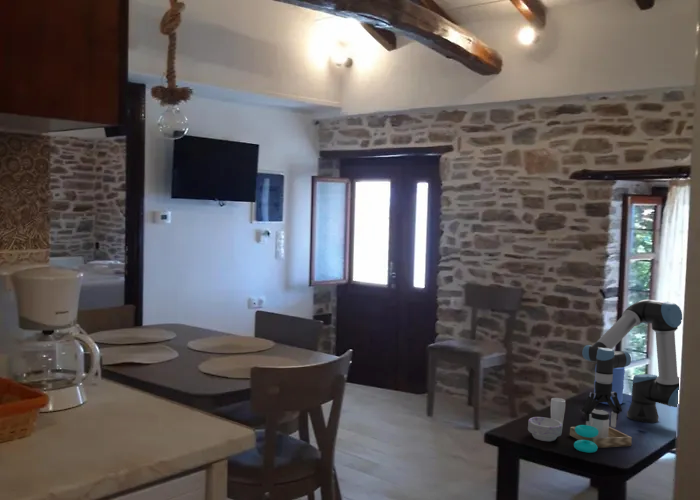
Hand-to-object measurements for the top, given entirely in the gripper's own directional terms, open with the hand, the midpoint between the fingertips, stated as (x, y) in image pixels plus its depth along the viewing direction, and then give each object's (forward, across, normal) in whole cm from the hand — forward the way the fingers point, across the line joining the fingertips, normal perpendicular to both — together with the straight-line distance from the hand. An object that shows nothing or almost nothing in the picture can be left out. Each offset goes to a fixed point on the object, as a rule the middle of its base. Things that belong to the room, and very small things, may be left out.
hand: (600, 427), depth 313 cm
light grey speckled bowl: (+6, +25, -7) cm, 27 cm away
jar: (+5, 0, -1) cm, 6 cm away
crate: (+6, 0, 0) cm, 6 cm away
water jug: (+6, -50, -60) cm, 78 cm away
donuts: (+6, +15, +10) cm, 19 cm away
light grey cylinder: (+6, +12, -17) cm, 22 cm away
